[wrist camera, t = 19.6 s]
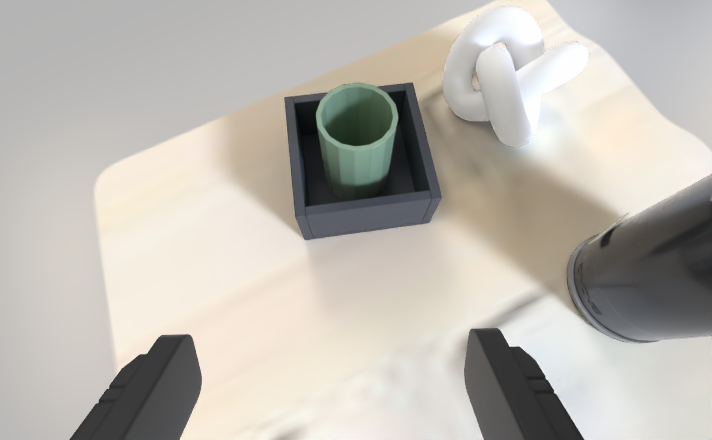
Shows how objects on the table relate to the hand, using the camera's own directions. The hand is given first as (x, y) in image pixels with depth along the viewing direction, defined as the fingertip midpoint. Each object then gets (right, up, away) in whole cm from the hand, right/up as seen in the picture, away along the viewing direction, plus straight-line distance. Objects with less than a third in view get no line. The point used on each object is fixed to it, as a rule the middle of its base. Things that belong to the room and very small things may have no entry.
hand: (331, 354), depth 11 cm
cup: (+1, +8, +25) cm, 26 cm away
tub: (+1, +8, +25) cm, 27 cm away
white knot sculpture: (+16, +16, +29) cm, 36 cm away
